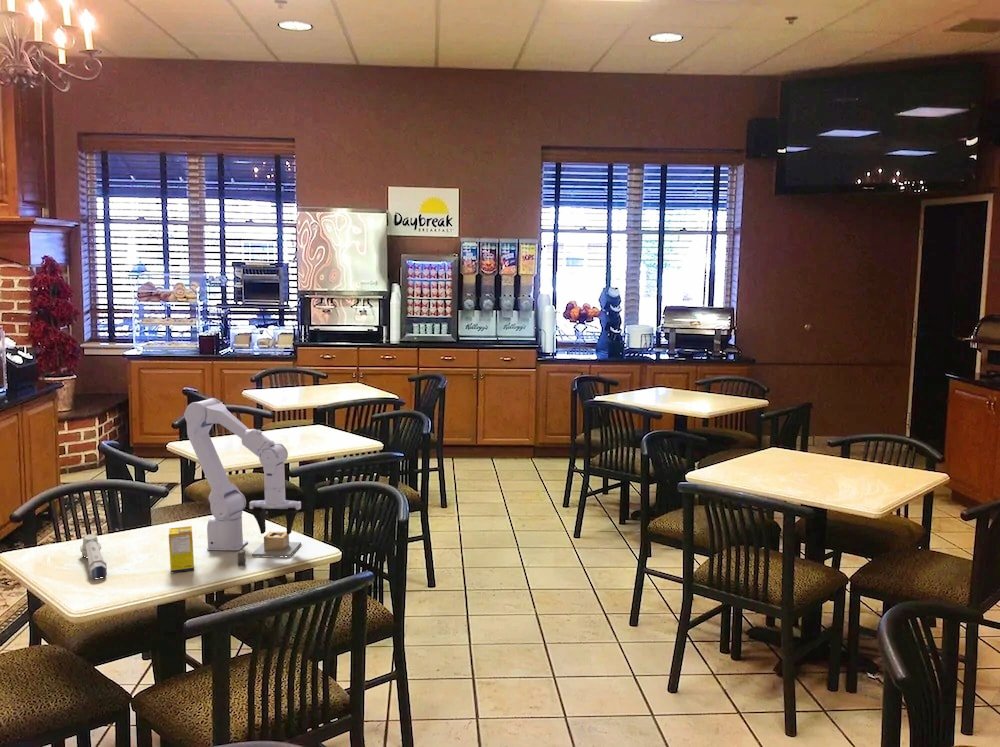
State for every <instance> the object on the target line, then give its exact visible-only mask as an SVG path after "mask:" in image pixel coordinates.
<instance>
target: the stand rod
mask: <svg viewBox="0 0 1000 747" xmlns="http://www.w3.org/2000/svg"><path fill="white" fill-rule="evenodd" d="M236 555H237V566H238V567H240V566H241V565H242V566H245V565H246V551H245V550H238V552H237V554H236Z"/></svg>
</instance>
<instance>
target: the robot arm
mask: <svg viewBox="0 0 1000 747" xmlns="http://www.w3.org/2000/svg"><path fill="white" fill-rule="evenodd" d="M183 418H184V419H185V422H186V434H187V437H188V439H189V442H190V444H191V446H192V449H193V452H194V454H195V455H196V458H197V460H198V462H199V464H200V467H201V469H202V471H203V473H204V476H205V479H206V482H207V483H208V485H209V487H210V493H209V495H208V501H209V504H210V508H209V509H210V513H211V515H212V517H210V518H209V519H208V522H207V526H206V533H207V535H206V536H207V548H206V551H241V549H242V548H243V547H244V546H246V544H248V543H249V541H248V540H244V538H243V537H244V535H243V511H244V509H245V508H246V505H247V500H246V497H245V495H244V494H243V493H242V492H241V491H240V489H239V488H238V486H237V484H234V483H232V482H231V481H230V479H229V477H228V475H227V472H226V470H225V468H224V466H223V464H222V461H221V459H220V457H219V455H218V452H217V450H216V448H215V445H214V442H212V438H211V436H210V430H211V429H212V427H213V425H214V424H219V425H221V426H222V427H224V428H225V429H227V430H229V432H231V433H232V434H234V435H235V436H237V437H238V438H240V439H241V445H242V446H244V447H245V448H246V449H248V450H249V451H250V452H252V454H254V455H255V456H256V457H258V460H259V463H260V464H261V465H262V468H263V469H262V470H263V471H262V472H264V473H263V478H264V479H263V480H264V481H263V482H264V484H263V485H264V488H263V489H264V499H263V500H262V499H261V500H251V501H249V502H248V503H249V510H252V511H251V513H252V516H253V517H254V519H255V521H256V523H257V524H258V528H259V532H260V534H262V535H263V534H264V533H266V531H267V530H266V526H267V525H266V512H267V509H270V510H271V509H273V510H274V509H277V510H278V509H279V510H286V511H284V515H285V521H286V532H287V534H289V535H290V534H291V533H292V532H293V531H292V528H293V524H294V521H295V518H296V516H297V514H298V512H299V510H301V509H302V501H300V500H299V501H297V500H288V499H286V476H285V475H286V474H285V472H286V471H285V462H286V461H287V460H288V456H289V454H288V449H287V448H286V447H285V446H284V445H283V444H282V443H276V442H275V441H274V440H272V439H271V440H270V439H269V438H268V437H267V436H265V435H264V434H263V431H262V430H261V429H257V428H251V429H250V428H249V427H248V426H246V424H244V423H243V422H242V421H241V420H240V419H238V418H237V417H236V416H235V415H233V413H231V412H230V411H229V410H228V409H227V406H226V405H225V404H223V403H222V402H221V401H220V400H218V399H216V398H213V397H210V398H207V399H204V400H200V401H194V402H193V401H192V402H191V403H189V404H188V405H187V406H186V409H185V411H184V413H183Z"/></svg>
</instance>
